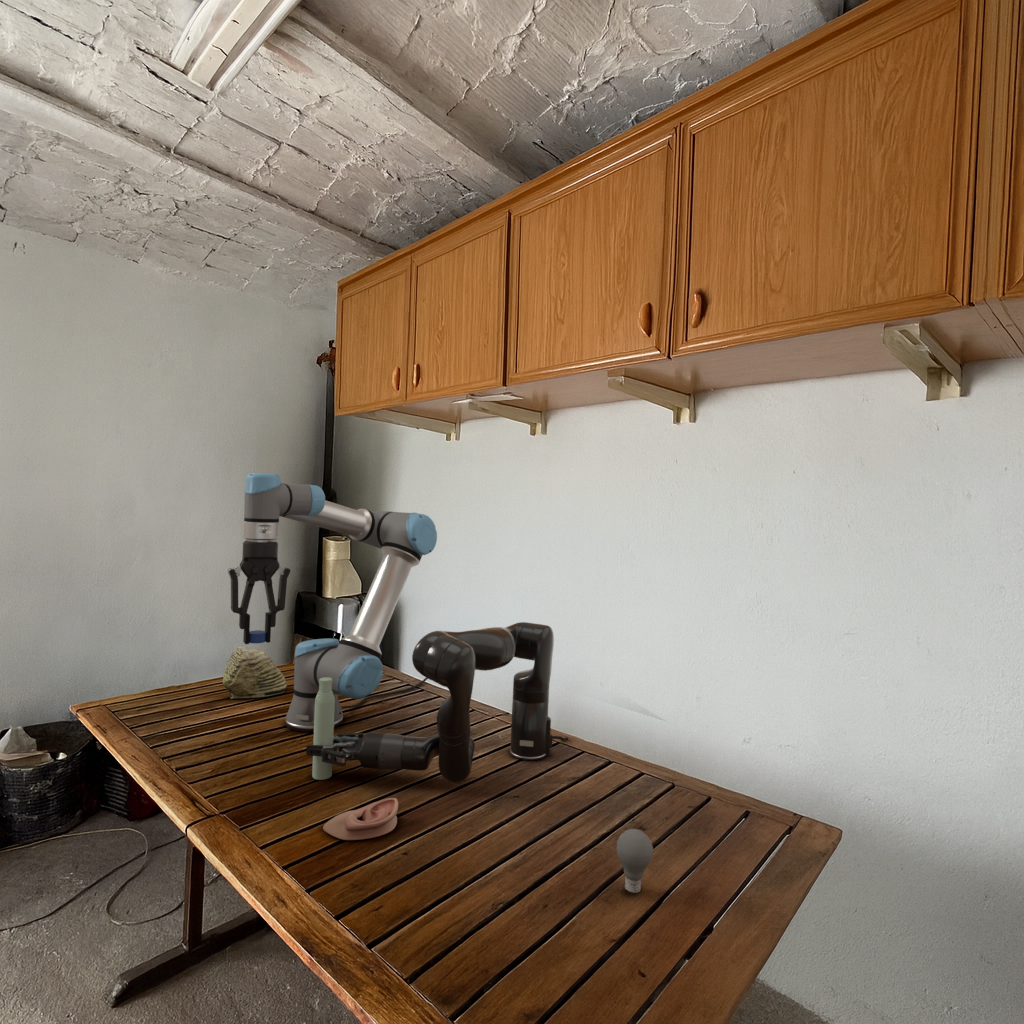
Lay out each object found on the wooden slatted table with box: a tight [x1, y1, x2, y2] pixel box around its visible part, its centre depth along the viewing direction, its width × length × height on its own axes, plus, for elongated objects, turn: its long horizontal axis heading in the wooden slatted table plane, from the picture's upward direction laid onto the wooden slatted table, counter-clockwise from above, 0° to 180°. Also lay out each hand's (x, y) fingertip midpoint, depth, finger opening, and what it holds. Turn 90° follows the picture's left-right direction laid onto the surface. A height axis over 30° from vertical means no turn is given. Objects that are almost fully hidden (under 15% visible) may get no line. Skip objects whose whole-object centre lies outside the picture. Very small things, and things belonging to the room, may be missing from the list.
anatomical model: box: [322, 797, 399, 841], centre depth 122 cm, size 13×4×12 cm
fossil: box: [222, 646, 288, 699], centre depth 198 cm, size 9×18×15 cm, turn 132°
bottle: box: [311, 677, 335, 781], centre depth 144 cm, size 4×4×22 cm
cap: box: [249, 629, 267, 644], centre depth 145 cm, size 4×4×2 cm
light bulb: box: [615, 828, 654, 894], centre depth 106 cm, size 6×6×10 cm
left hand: (256, 641), depth 146 cm, fingers closed on cap, 4 cm apart
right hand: (311, 745), depth 144 cm, fingers closed on bottle, 4 cm apart
